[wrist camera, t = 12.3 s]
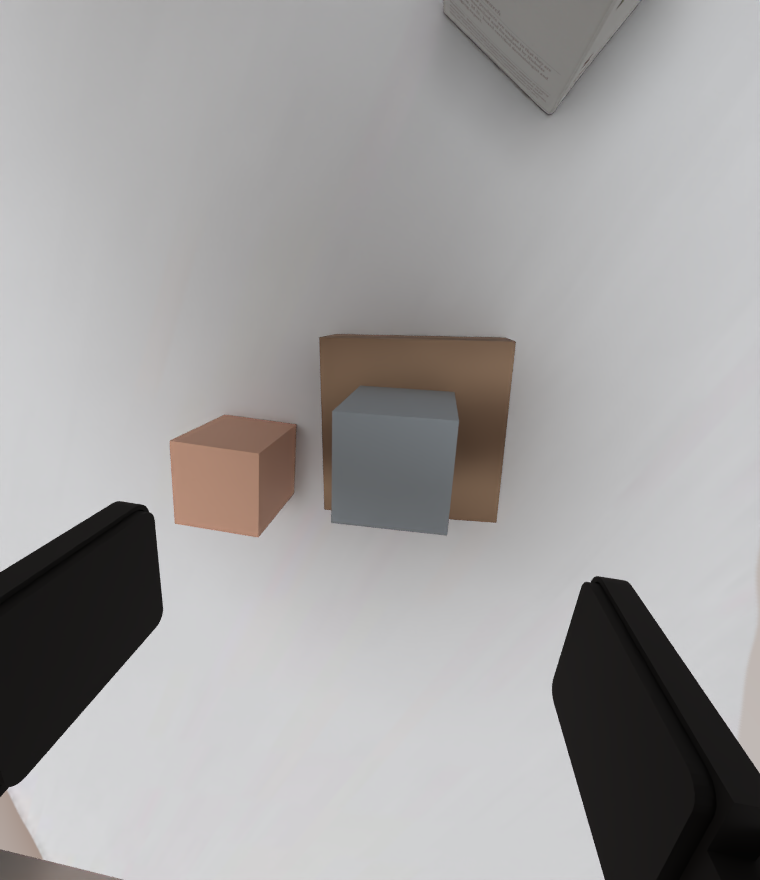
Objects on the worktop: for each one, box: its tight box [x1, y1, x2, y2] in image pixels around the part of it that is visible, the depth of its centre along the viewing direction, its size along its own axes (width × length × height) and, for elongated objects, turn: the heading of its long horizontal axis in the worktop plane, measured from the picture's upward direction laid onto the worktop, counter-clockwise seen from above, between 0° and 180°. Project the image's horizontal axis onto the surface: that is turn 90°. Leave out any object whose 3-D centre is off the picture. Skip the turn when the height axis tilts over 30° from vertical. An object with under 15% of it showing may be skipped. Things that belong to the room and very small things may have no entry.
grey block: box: [331, 386, 459, 535], centre depth 20 cm, size 5×5×6 cm
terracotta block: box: [170, 415, 296, 537], centre depth 25 cm, size 5×5×6 cm
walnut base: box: [319, 334, 516, 523], centre depth 24 cm, size 10×10×4 cm
